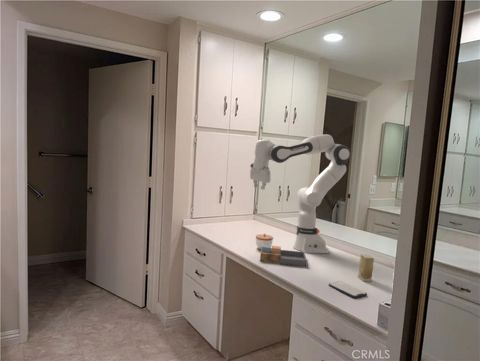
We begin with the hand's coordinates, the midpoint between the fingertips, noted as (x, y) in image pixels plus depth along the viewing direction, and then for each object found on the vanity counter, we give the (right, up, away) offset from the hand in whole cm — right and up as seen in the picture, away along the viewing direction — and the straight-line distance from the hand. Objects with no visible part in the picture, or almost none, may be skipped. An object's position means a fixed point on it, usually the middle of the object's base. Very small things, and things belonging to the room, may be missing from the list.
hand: (259, 188), depth 210 cm
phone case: (+37, -46, -55) cm, 80 cm away
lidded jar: (+3, -38, +4) cm, 38 cm away
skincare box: (+51, -45, -39) cm, 78 cm away
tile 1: (+9, -35, -17) cm, 40 cm away
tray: (+18, -41, -17) cm, 47 cm away
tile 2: (+3, -35, -16) cm, 39 cm away
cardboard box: (+5, -40, -16) cm, 43 cm away
